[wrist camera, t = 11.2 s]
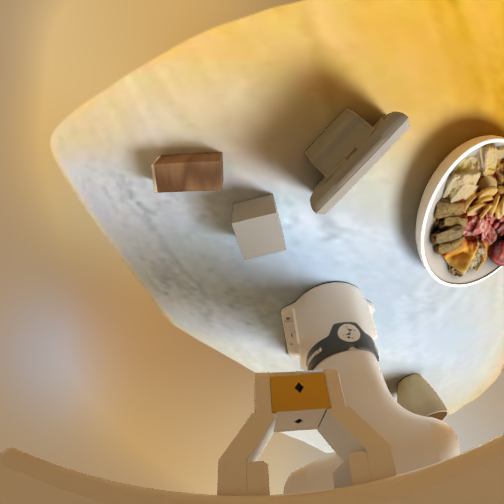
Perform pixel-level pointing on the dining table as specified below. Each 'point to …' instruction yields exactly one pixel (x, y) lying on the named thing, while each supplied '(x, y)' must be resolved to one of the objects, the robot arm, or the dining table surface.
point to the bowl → (464, 214)
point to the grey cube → (258, 227)
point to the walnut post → (188, 172)
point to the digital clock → (350, 153)
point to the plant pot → (420, 398)
